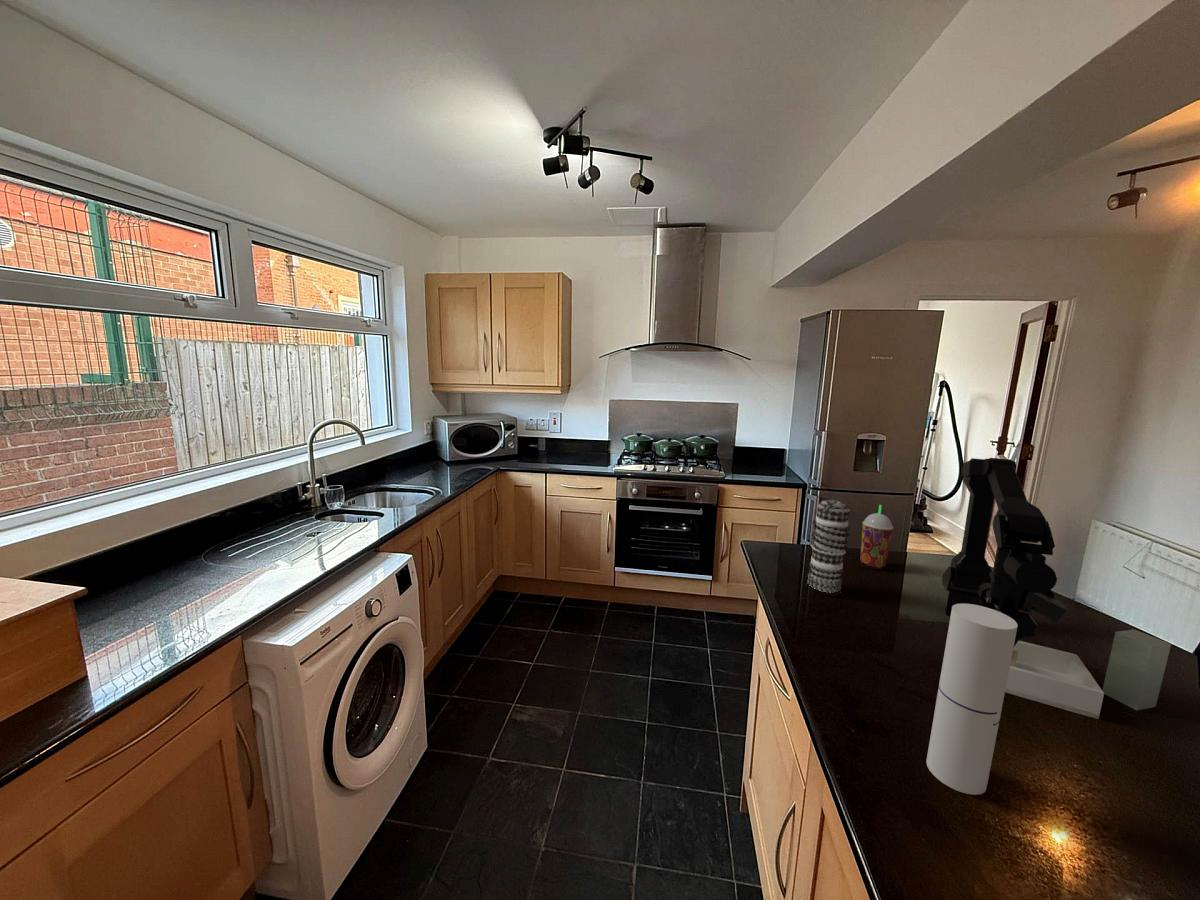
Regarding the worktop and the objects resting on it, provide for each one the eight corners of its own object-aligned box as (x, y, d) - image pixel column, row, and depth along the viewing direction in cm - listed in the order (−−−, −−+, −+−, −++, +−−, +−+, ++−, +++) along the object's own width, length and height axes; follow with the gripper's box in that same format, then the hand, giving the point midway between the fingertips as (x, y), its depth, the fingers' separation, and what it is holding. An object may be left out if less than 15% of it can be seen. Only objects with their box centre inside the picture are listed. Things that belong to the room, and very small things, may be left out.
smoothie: (884, 564, 151) (892, 503, 148) (890, 574, 143) (899, 510, 140) (854, 559, 154) (862, 500, 150) (859, 569, 146) (868, 506, 143)
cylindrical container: (915, 755, 73) (939, 603, 69) (957, 753, 74) (984, 603, 70) (952, 795, 66) (982, 629, 62) (1000, 793, 66) (1032, 629, 63)
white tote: (969, 681, 92) (973, 658, 91) (960, 648, 104) (963, 626, 103) (1098, 719, 83) (1104, 693, 82) (1072, 677, 94) (1076, 654, 94)
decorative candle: (809, 595, 127) (819, 504, 123) (802, 580, 136) (811, 496, 132) (846, 599, 125) (857, 508, 121) (836, 585, 134) (847, 499, 130)
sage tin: (1136, 710, 85) (1151, 646, 83) (1101, 692, 90) (1115, 631, 88) (1155, 706, 87) (1171, 644, 85) (1120, 689, 91) (1134, 629, 89)
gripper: (1084, 602, 81) (1067, 685, 83) (1052, 569, 97) (1038, 639, 99) (1001, 585, 87) (987, 663, 89) (983, 556, 103) (972, 623, 105)
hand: (998, 647), depth 95 cm, fingers open, 8 cm apart
